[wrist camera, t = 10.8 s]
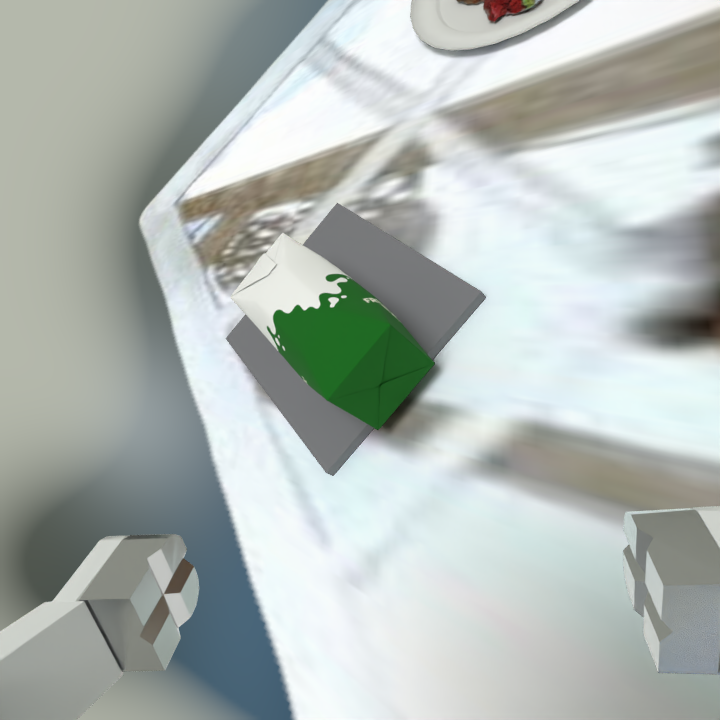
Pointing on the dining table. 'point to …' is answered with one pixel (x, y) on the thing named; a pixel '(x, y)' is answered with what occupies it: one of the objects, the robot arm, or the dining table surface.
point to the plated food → (479, 20)
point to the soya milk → (332, 331)
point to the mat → (393, 289)
